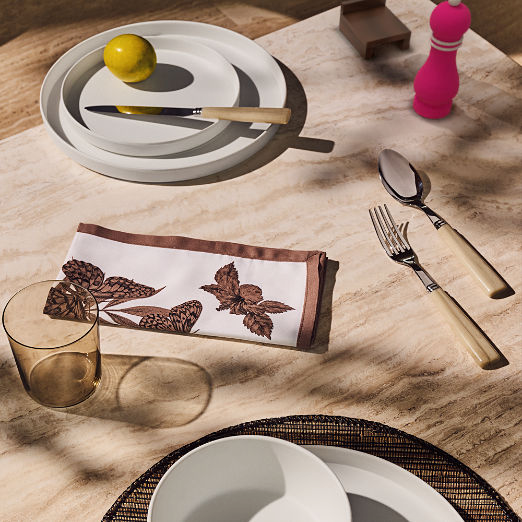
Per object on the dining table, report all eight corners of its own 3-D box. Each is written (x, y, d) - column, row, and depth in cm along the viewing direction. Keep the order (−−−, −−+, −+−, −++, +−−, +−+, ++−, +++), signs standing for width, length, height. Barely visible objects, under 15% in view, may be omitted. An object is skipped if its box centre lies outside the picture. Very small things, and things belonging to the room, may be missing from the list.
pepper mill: (438, 126, 110) (464, 12, 95) (401, 108, 113) (420, -5, 98) (461, 106, 114) (490, -8, 98) (425, 89, 117) (447, -24, 102)
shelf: (380, 19, 132) (384, -8, 128) (408, 48, 125) (413, 21, 121) (338, 29, 130) (340, 2, 126) (364, 59, 123) (368, 31, 119)
